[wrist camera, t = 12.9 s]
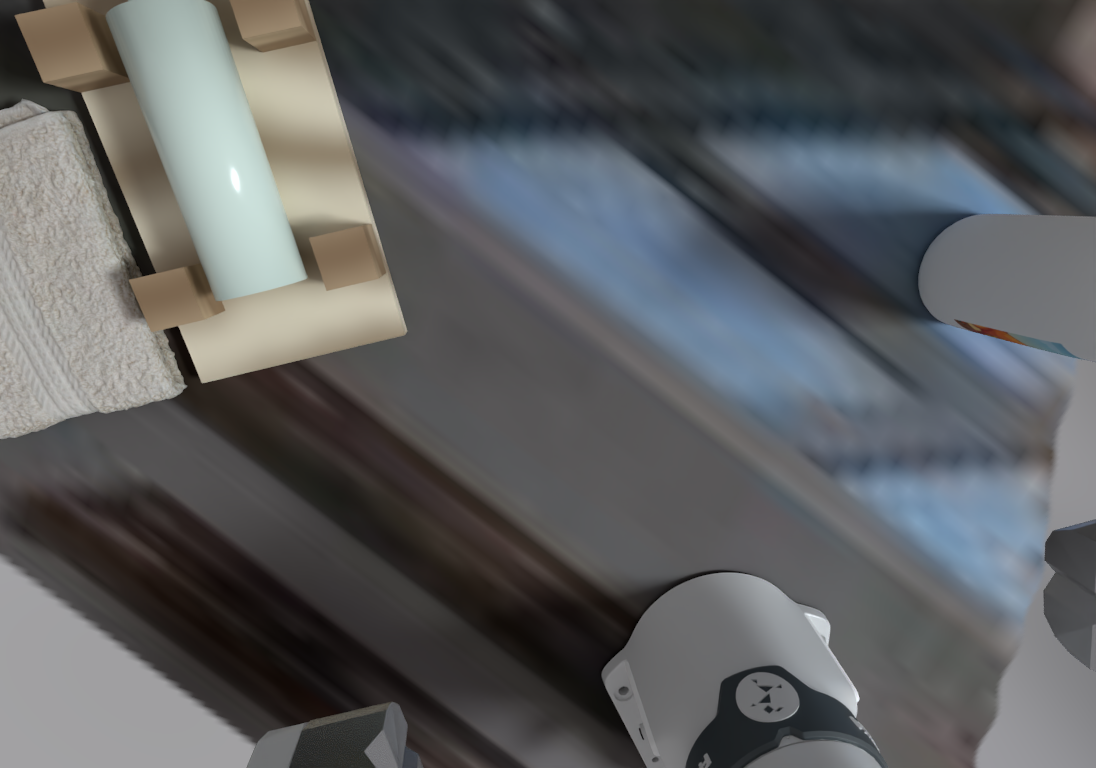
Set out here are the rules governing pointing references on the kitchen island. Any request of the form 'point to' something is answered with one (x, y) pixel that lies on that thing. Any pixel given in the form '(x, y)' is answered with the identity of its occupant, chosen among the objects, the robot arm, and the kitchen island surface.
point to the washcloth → (67, 284)
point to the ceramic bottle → (207, 143)
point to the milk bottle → (1017, 280)
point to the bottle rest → (299, 171)
